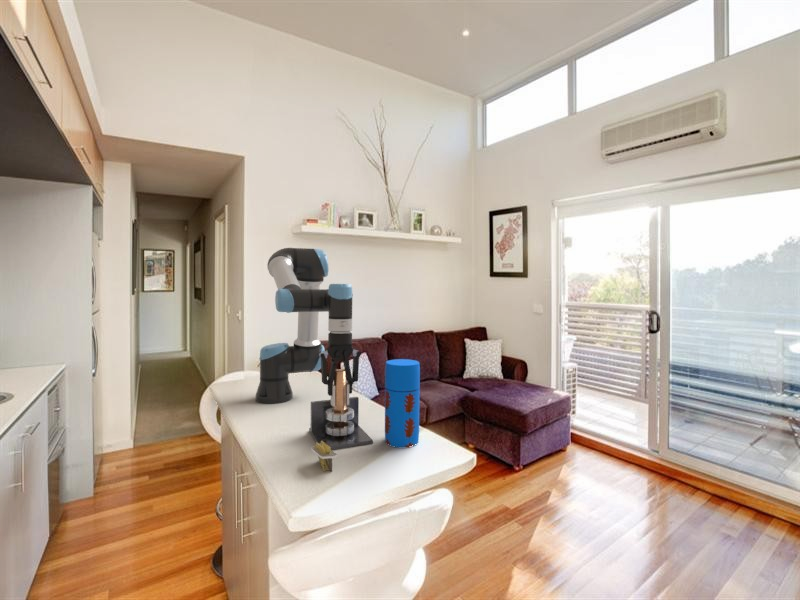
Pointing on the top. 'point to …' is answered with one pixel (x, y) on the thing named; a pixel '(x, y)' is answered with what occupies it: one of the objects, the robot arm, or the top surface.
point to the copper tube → (340, 395)
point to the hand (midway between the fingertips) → (339, 404)
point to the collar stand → (334, 436)
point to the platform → (324, 455)
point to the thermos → (402, 402)
